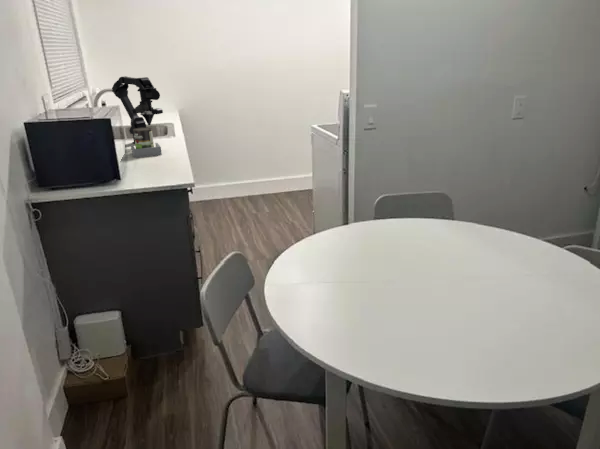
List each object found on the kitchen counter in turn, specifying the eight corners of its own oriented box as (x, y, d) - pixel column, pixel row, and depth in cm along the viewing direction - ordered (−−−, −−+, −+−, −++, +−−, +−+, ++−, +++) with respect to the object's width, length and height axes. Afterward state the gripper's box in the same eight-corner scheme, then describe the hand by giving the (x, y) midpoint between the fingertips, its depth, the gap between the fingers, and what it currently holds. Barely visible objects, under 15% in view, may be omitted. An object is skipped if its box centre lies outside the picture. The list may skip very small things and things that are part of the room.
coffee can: (145, 156, 262) (141, 131, 257) (132, 154, 267) (128, 129, 262) (159, 152, 271) (155, 128, 265) (146, 150, 275) (143, 126, 270)
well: (131, 153, 270) (130, 145, 269) (158, 150, 276) (157, 142, 274) (134, 157, 259) (133, 149, 258) (161, 154, 265) (160, 146, 263)
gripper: (124, 100, 278) (128, 126, 284) (149, 101, 272) (153, 128, 278) (136, 98, 288) (140, 123, 294) (161, 99, 282) (165, 125, 287)
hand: (149, 125), depth 288 cm, fingers closed
